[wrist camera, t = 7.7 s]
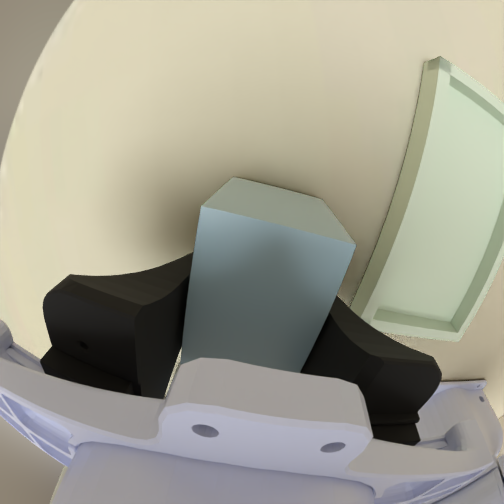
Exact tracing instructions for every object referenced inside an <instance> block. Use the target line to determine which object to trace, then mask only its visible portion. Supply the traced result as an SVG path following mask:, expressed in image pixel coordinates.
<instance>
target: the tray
mask: <svg viewBox="0 0 504 504" xmlns="http://www.w3.org/2000/svg"><path fill="white" fill-rule="evenodd" d="M503 258H504V103H503V102H502V101H501V100H500V99H498V98H497V97H496V96H495V95H494V94H492V93H491V92H490V91H489V90H488V89H486V88H485V87H484V86H483V85H481V84H480V83H479V82H477V81H476V80H475V79H473V78H472V77H471V76H469V75H468V74H466V73H465V72H464V71H462V70H461V69H459V68H458V67H456V66H455V65H453V64H452V63H450V62H449V61H447V60H446V59H444V58H442V57H441V56H440V57H437V58H435V59H432V60H430V61H427V62H425V63H424V67H423V74H422V80H421V86H420V92H419V98H418V103H417V108H416V113H415V118H414V123H413V127H412V131H411V136H410V140H409V144H408V148H407V152H406V156H405V159H404V163H403V166H402V170H401V173H400V177H399V180H398V184H397V187H396V190H395V193H394V196H393V200H392V203H391V206H390V209H389V212H388V214H387V217H386V220H385V223H384V226H383V229H382V231H381V234H380V237H379V239H378V242H377V245H376V247H375V250H374V252H373V255H372V257H371V260H370V262H369V265H368V267H367V270H366V272H365V274H364V277H363V279H362V281H361V284H360V286H359V288H358V290H357V293H356V295H355V297H354V299H353V302H352V304H351V306H350V309H351V310H352V311H353V312H354V313H355V314H357V315H358V316H359V317H360V318H361V319H363V320H364V321H365V322H367V323H368V324H369V325H371V326H372V327H373V328H375V329H376V330H378V331H380V332H384V333H391V334H398V335H405V336H412V337H419V338H427V339H435V340H444V341H453V342H459V341H460V339H461V338H462V336H463V334H464V333H465V331H466V330H467V328H468V326H469V325H470V323H471V321H472V320H473V318H474V316H475V314H476V313H477V311H478V309H479V307H480V306H481V304H482V302H483V300H484V298H485V296H486V294H487V292H488V290H489V288H490V286H491V284H492V282H493V280H494V278H495V276H496V274H497V271H498V269H499V267H500V265H501V262H502V260H503Z"/></svg>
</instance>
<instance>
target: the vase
mask: <svg viewBox="0 0 504 504" xmlns="http://www.w3.org/2000/svg"><path fill="white" fill-rule="evenodd" d="M498 420H499V422H500V424H501V427H502V430H503V443H502V447H501V450H500V454H501V456H502V455H503V454H504V416H502V417H501V418H500V419H498Z"/></svg>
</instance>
